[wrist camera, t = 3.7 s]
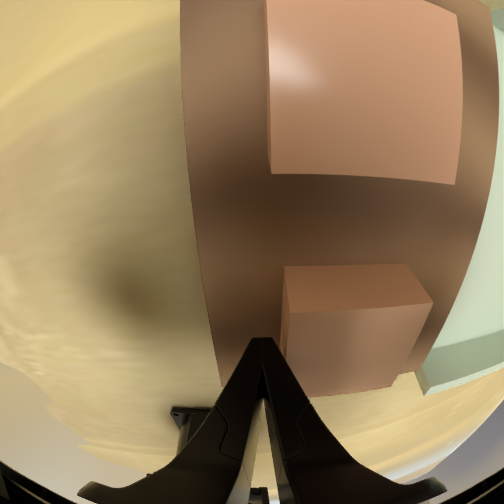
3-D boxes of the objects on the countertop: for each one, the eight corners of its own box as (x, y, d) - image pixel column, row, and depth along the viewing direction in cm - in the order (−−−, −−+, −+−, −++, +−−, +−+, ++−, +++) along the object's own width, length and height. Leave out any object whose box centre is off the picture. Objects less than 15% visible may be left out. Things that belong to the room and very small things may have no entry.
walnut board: (408, 347, 16) (418, 370, 14) (225, 360, 16) (222, 387, 14) (463, 12, 6) (489, 7, 4) (193, -31, 6) (182, -52, 4)
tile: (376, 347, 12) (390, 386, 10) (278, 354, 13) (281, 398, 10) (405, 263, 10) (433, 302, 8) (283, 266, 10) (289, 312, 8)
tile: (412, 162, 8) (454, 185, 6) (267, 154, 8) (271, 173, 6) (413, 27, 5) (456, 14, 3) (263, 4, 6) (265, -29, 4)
